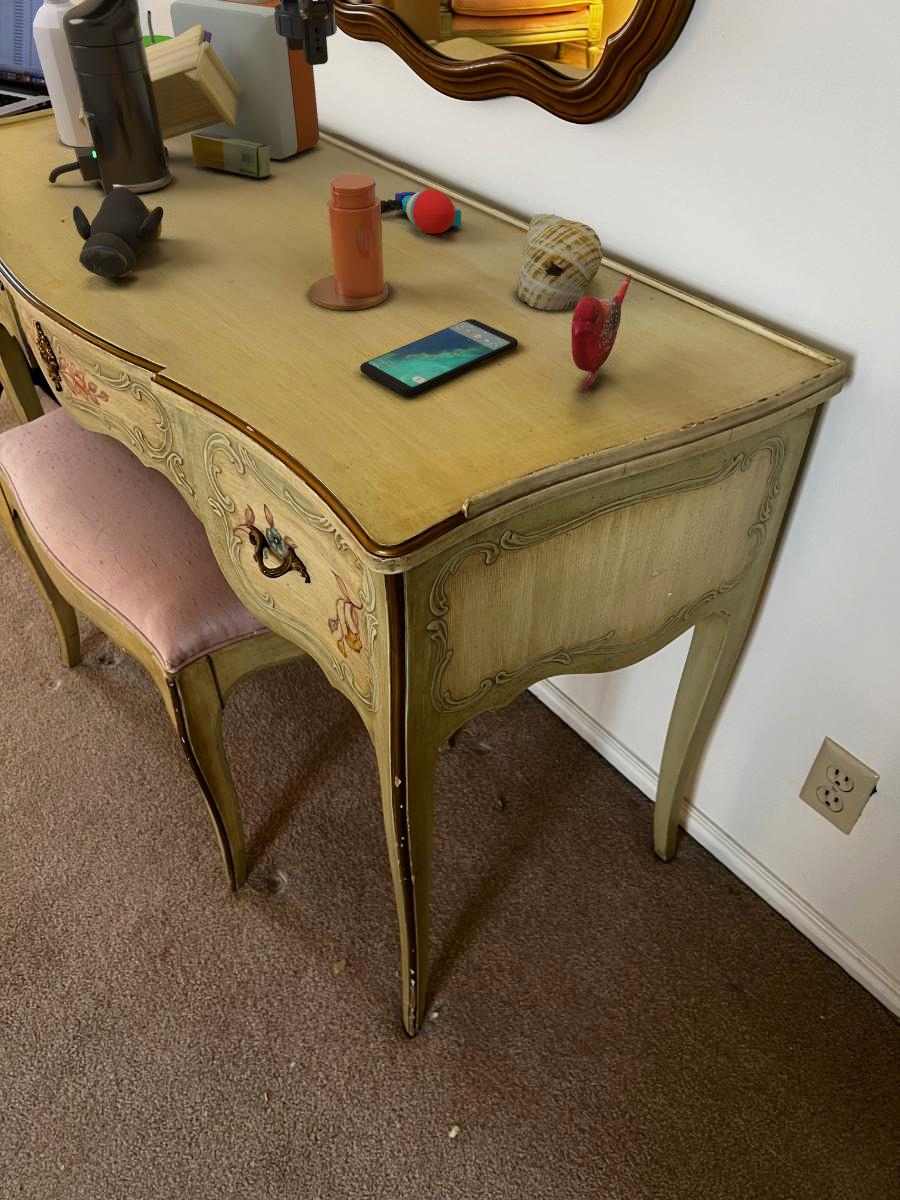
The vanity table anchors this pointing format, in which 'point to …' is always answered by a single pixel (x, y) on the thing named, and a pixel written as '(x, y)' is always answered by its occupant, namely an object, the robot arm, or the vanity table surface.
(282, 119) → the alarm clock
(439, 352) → the smartphone
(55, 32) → the soap bottle
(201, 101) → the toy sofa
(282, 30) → the lid
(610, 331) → the decorative bird figurine
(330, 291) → the coaster
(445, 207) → the toy figure
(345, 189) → the jar
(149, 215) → the toy
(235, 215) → the vanity table surface
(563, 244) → the seashell
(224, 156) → the medication box
